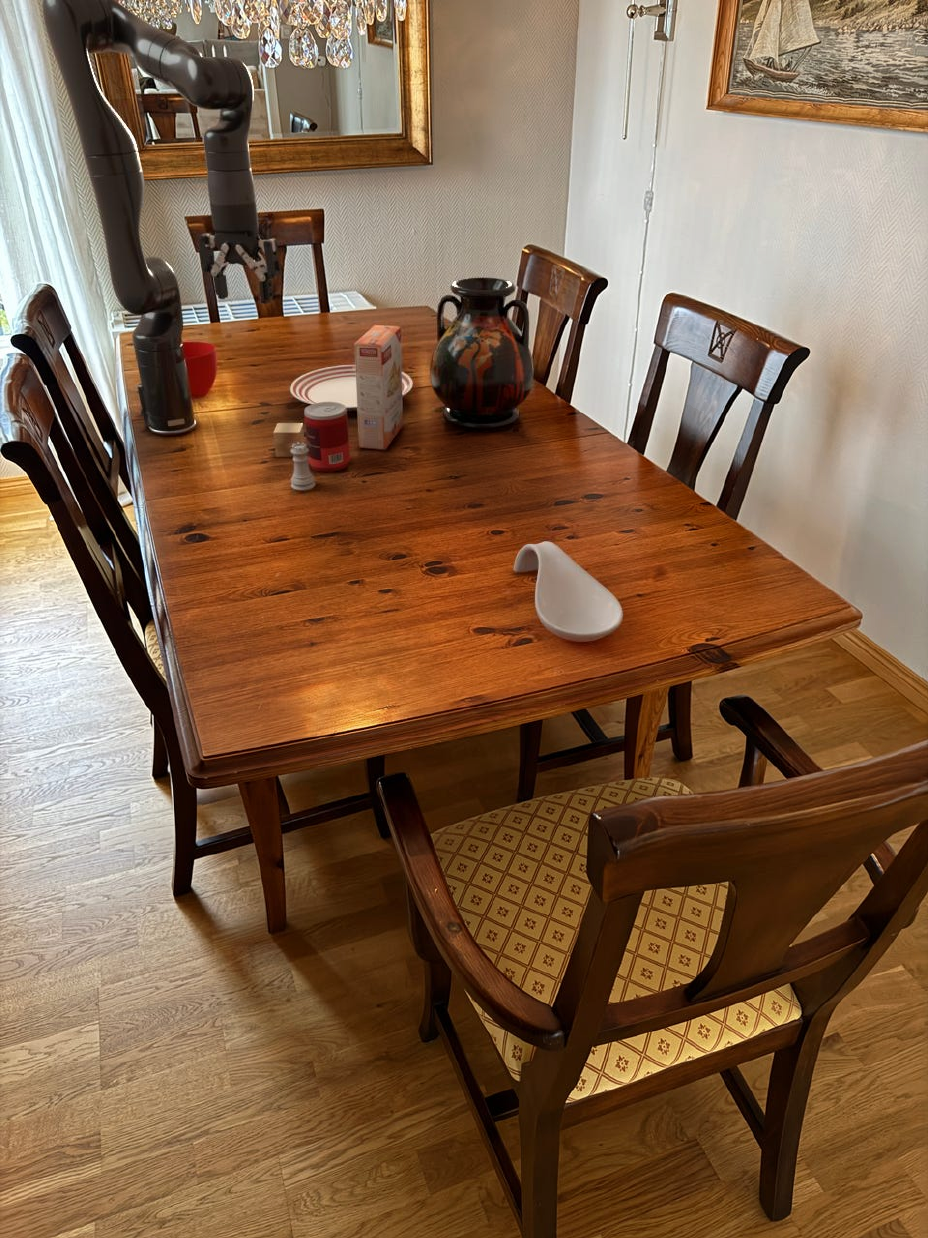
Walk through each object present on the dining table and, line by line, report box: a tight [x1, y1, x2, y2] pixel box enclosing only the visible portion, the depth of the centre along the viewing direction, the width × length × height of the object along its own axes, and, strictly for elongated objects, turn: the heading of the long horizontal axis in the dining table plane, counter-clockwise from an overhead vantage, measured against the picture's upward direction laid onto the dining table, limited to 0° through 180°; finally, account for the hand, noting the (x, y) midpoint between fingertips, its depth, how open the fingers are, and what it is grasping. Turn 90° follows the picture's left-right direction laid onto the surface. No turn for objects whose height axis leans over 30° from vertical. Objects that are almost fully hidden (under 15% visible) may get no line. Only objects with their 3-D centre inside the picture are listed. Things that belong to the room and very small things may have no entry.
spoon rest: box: [513, 541, 624, 643], centre depth 126 cm, size 24×12×7 cm, turn 21°
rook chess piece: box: [290, 442, 316, 492], centre depth 160 cm, size 4×4×8 cm
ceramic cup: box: [182, 341, 218, 399], centre depth 204 cm, size 13×17×10 cm
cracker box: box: [353, 324, 404, 451], centre depth 177 cm, size 14×6×21 cm, turn 168°
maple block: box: [272, 422, 306, 458], centre depth 175 cm, size 5×5×5 cm
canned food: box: [303, 402, 351, 473], centre depth 168 cm, size 8×8×11 cm
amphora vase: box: [429, 276, 535, 433], centre depth 184 cm, size 22×22×28 cm
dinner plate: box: [289, 364, 414, 412], centre depth 202 cm, size 27×27×3 cm
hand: (244, 300), depth 157 cm, fingers open, 8 cm apart
